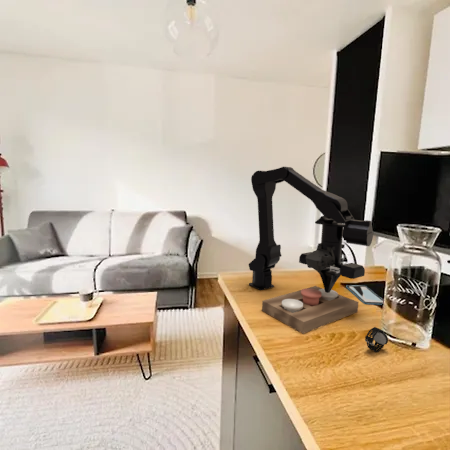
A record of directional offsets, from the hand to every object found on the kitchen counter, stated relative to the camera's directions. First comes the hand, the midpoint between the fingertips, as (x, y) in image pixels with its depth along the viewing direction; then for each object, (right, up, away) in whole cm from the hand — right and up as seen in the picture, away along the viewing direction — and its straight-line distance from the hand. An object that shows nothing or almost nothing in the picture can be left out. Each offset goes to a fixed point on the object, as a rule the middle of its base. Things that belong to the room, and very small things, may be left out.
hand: (327, 292), depth 88 cm
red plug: (-6, -3, -4) cm, 8 cm away
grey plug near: (-12, -5, -8) cm, 16 cm away
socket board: (-6, -5, -4) cm, 9 cm away
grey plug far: (0, -4, +1) cm, 4 cm away
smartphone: (+16, -4, +10) cm, 19 cm away
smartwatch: (+2, -8, -22) cm, 24 cm away
